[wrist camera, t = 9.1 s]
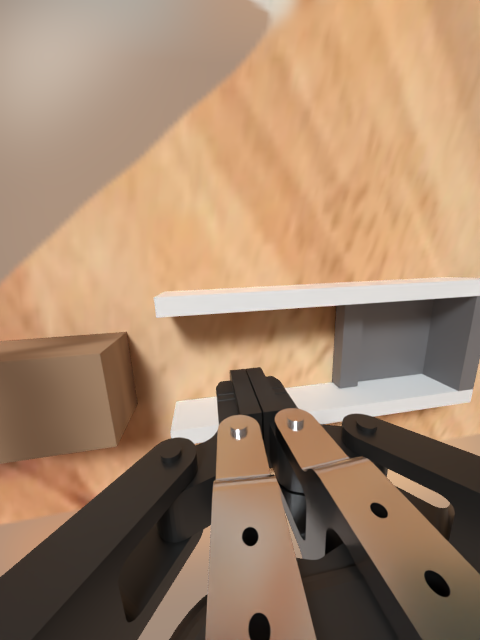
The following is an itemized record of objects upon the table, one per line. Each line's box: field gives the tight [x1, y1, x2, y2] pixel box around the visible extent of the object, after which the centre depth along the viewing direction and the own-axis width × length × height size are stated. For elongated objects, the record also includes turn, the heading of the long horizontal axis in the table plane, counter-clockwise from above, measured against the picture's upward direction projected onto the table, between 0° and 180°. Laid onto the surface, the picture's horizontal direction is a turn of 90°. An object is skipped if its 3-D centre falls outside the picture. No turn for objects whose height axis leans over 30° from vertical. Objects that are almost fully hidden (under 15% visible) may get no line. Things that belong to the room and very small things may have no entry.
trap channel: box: [154, 277, 480, 444], centre depth 15 cm, size 20×8×3 cm, turn 92°
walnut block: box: [0, 332, 138, 464], centre depth 12 cm, size 7×5×4 cm
